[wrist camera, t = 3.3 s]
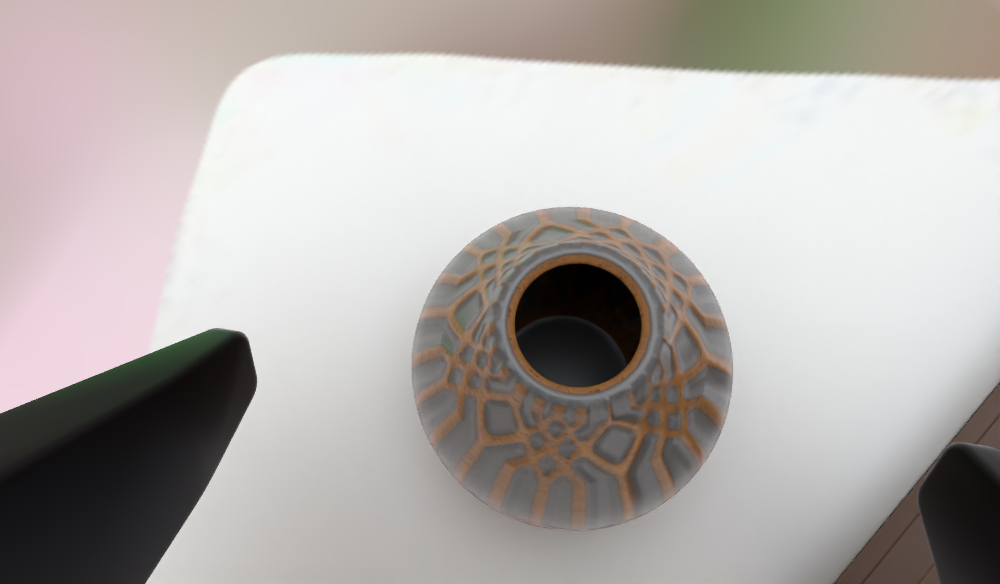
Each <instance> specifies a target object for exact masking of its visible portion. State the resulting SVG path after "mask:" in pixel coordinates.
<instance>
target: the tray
mask: <svg viewBox="0 0 1000 584" xmlns="http://www.w3.org/2000/svg"><path fill="white" fill-rule="evenodd" d="M956 442H963V443H970V444H976V445H983V446H989V447H992V448H995V449H998V450H1000V384H999V385H998V386H997V387H996V388H995V390H994V391H993V392H992V393H991V394H990V396H989V397H988V398H987V399H986V401H985V402H984V403H983V404H982V405H981V407H980V408H979V409H978V410H977V411H976V413H975V414H974V415H973V416H972V418H971V419H970V420H969V421H968V422H967V424H966V425H965V426H964V427H963V428H962V430H961V431H960V432H959V433H958V434H957V436H956V437H955V438H954V439H953V441H952V442H951V443H950V444H952V443H956ZM950 444H949V445H950ZM949 445H948V446H949ZM936 461H937V460H936ZM936 461H935V462H936ZM935 462H934V464H935ZM934 464H933V465H934ZM933 465H932V466H931V467H930V468H929V470H928V471H927V472H926V473H925V475H924V476H923V477H922V478H921V479H920V481H919V482H918V483H917V484H916V485H915V487H914V488H913V489H912V490H911V492H910V493H909V494H908V495H907V496H906V498H905V499H904V500H903V501H902V502H901V504H900V505H899V506H898V507H897V509H896V510H895V511H894V512H893V513H892V515H891V516H890V517H889V518H888V519H887V521H886V522H885V523H884V524H883V526H882V527H881V528H880V529H879V530H878V532H877V533H876V534H875V535H874V536H873V538H872V539H871V540H870V541H869V543H868V544H867V545H866V546H865V547H864V549H863V550H862V551H861V552H860V553H859V555H858V556H857V557H856V558H855V560H854V561H853V562H852V563H851V564H850V566H849V567H848V568H847V569H846V570H845V572H844V573H843V574H842V575H841V577H840V578H839V579H838V580H837V581H836V583H835V584H940V583H939V579H938V576H937V572H936V569H935V565H934V561H933V558H932V554H931V551H930V547H929V544H928V540H927V537H926V533H925V530H924V526H923V523H922V519H921V516H920V512H919V509H918V502H917V496H918V490H919V487H920V485H921V483H922V482H923V480H924V479H925V477H926V476H927V474H928V473H929V471H930V470H931V468H932V467H933Z"/></svg>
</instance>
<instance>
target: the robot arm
mask: <svg viewBox="0 0 1000 584" xmlns="http://www.w3.org/2000/svg"><path fill="white" fill-rule="evenodd" d="M256 387H257V375H256V371H255V366H254V362H253V358H252V353H251V349H250V344H249V341H248V338H247V337H246V335H245V334H244V333H242V332H239V331H234V330H227V329H221V328H214V329H210V330H208V331H205V332H203V333H200V334H198V335H195V336H193V337H190V338H188V339H185V340H183V341H180V342H178V343H175V344H173V345H170V346H168V347H165V348H163V349H160V350H158V351H155V352H153V353H150V354H148V355H145V356H143V357H140V358H138V359H135V360H133V361H130V362H128V363H125V364H123V365H120V366H118V367H116V368H113V369H110V370H108V371H105V372H104V373H101V374H98V375H95V376H93V377H90V378H88V379H85V380H83V381H81V382H78V383H76V384H73V385H71V386H68V387H66V388H63V389H61V390H58V391H56V392H53V393H51V394H48V395H46V396H43V397H41V398H38V399H36V400H33V401H31V402H28V403H26V404H23V405H21V406H19V407H16V408H13V409H11V410H8V411H6V412H3V413H1V414H0V584H145V583H146V581H147V580H148V578H149V577H150V575H151V574H152V572H153V571H154V569H155V568H156V566H157V564H158V563H159V561H160V560H161V558H162V557H163V555H164V554H165V552H166V551H167V549H168V547H169V546H170V544H171V543H172V541H173V540H174V538H175V537H176V535H177V533H178V532H179V530H180V529H181V527H182V526H183V524H184V523H185V521H186V520H187V518H188V516H189V515H190V513H191V512H192V510H193V509H194V507H195V506H196V504H197V502H198V501H199V499H200V497H201V496H202V494H203V492H204V491H205V489H206V487H207V485H208V484H209V482H210V480H211V478H212V476H213V475H214V473H215V471H216V469H217V467H218V465H219V463H220V461H221V459H222V457H223V455H224V453H225V451H226V449H227V447H228V445H229V443H230V441H231V439H232V437H233V435H234V434H235V432H236V430H237V428H238V426H239V424H240V422H241V420H242V418H243V416H244V414H245V412H246V410H247V408H248V406H249V404H250V402H251V400H252V398H253V396H254V394H255V391H256ZM917 502H918V509H919V512H920V516H921V519H922V523H923V526H924V530H925V533H926V537H927V540H928V544H929V547H930V551H931V554H932V558H933V561H934V565H935V569H936V572H937V576H938V579H939V583H940V584H1000V450H998V449H995V448H992V447H989V446H983V445H976V444H970V443H963V442H956V443H952V444H950V445H949V446H947V447H946V448H945V449H944V451H943V452H942V453H941V455H940V456H939V458H938V459H937V461H936V462H935V464H934V465H933V467H932V468H931V470H930V471H929V473H928V474H927V476H926V477H925V479H924V480H923V482H922V483H921V485H920V487H919V490H918V496H917Z"/></svg>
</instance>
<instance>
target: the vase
mask: <svg viewBox="0 0 1000 584" xmlns="http://www.w3.org/2000/svg"><path fill="white" fill-rule="evenodd" d="M412 381H413V389H414V396H415V401H416V406H417V410H418V413H419V416H420V420H421V422H422V425H423V428H424V430H425V433H426V435H427V437H428V439H429V441H430V443H431V445H432V447H433V448H434V450H435V452H436V453H437V455H438V456H439V458H440V459H441V461H442V462H443V464H444V465H445V466H446V468H447V469H448V470H449V471H450V473H451V474H452V475H453V476H454V477H455V478H456V479H457V480H458V481H459V482H460V483H461V484H462V485H463V486H464V487H465V488H466V489H467V490H468V491H469V492H471V493H472V494H473V495H474V496H476V497H477V498H478V499H480V500H481V501H482V502H484V503H485V504H487V505H489V506H490V507H492V508H493V509H495V510H497V511H499V512H501V513H503V514H505V515H507V516H509V517H512V518H514V519H516V520H519V521H522V522H525V523H528V524H532V525H536V526H540V527H544V528H550V529H557V530H592V529H599V528H605V527H610V526H614V525H618V524H621V523H624V522H627V521H630V520H633V519H635V518H637V517H640V516H642V515H644V514H646V513H648V512H650V511H652V510H653V509H655V508H657V507H659V506H660V505H661V504H663V503H664V502H666V501H667V500H669V499H670V498H671V497H672V496H674V495H675V494H676V493H677V492H679V491H680V490H681V489H682V488H683V487H684V486H685V485H686V484H687V483H688V482H689V481H690V480H691V478H692V477H693V476H694V475H695V474H696V473H697V472H698V470H699V469H700V468H701V466H702V465H703V464H704V462H705V461H706V459H707V458H708V456H709V454H710V453H711V451H712V449H713V448H714V446H715V444H716V442H717V440H718V438H719V435H720V433H721V430H722V428H723V425H724V422H725V419H726V415H727V412H728V408H729V403H730V398H731V391H732V382H733V359H732V350H731V343H730V338H729V333H728V330H727V326H726V323H725V319H724V316H723V314H722V311H721V308H720V306H719V304H718V302H717V300H716V297H715V295H714V293H713V292H712V290H711V288H710V286H709V285H708V283H707V282H706V280H705V279H704V277H703V276H702V274H701V273H700V272H699V270H698V269H697V268H696V267H695V265H694V264H693V263H692V262H691V261H690V260H689V259H688V258H687V256H686V255H685V254H684V253H682V252H681V251H680V250H679V249H678V248H677V247H676V246H675V245H674V244H672V243H671V242H670V241H668V240H667V239H666V238H664V237H663V236H662V235H660V234H658V233H657V232H655V231H653V230H652V229H650V228H649V227H647V226H645V225H643V224H641V223H639V222H637V221H634V220H632V219H629V218H627V217H624V216H621V215H618V214H615V213H611V212H607V211H603V210H597V209H591V208H581V207H559V208H549V209H543V210H538V211H533V212H529V213H526V214H522V215H519V216H516V217H514V218H511V219H509V220H506V221H504V222H502V223H500V224H498V225H496V226H494V227H492V228H491V229H489V230H487V231H486V232H484V233H483V234H481V235H480V236H478V237H477V238H476V239H474V240H473V241H472V242H471V243H469V244H468V245H467V246H466V247H465V248H464V249H463V250H462V251H461V252H460V253H459V254H458V255H457V256H456V257H455V258H454V259H453V260H452V261H451V262H450V263H449V264H448V266H447V267H446V268H445V269H444V271H443V272H442V273H441V275H440V276H439V278H438V279H437V281H436V283H435V284H434V286H433V288H432V289H431V291H430V293H429V295H428V297H427V300H426V302H425V304H424V307H423V309H422V312H421V315H420V318H419V321H418V325H417V328H416V332H415V338H414V343H413V352H412Z"/></svg>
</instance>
